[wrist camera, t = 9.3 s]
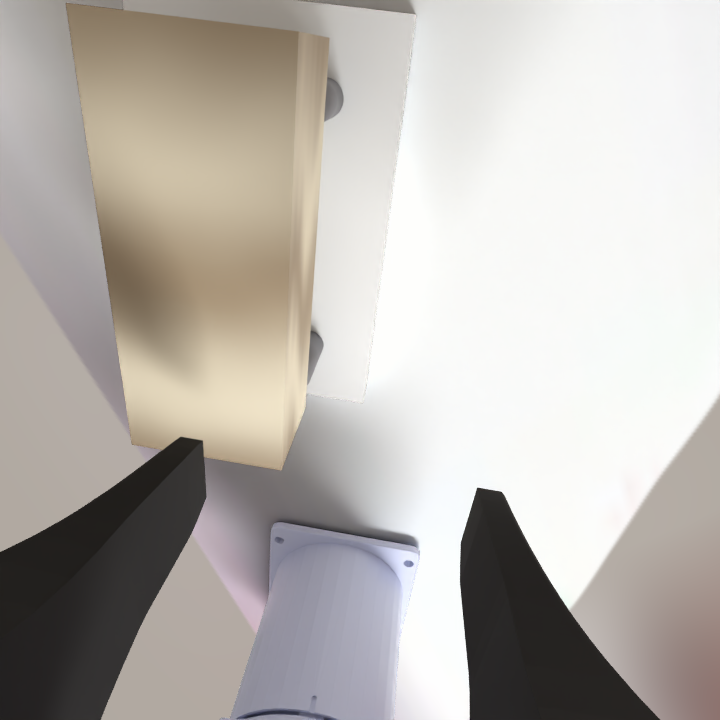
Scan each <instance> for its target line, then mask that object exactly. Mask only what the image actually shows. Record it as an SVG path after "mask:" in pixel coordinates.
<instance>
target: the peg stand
mask: <svg viewBox="0 0 720 720" xmlns="http://www.w3.org/2000/svg"><path fill="white" fill-rule="evenodd" d="M122 2H123V10H128V11H136V12H144V13H152V14H161V15H169V16H177V17H185V18H193V19H201V20H209V21H218V22H226V23H234V24H242V25H250V26H258V27H267V28H275V29H283V30H291V31H299V32H304V33H309V34H313V35H318V36H323V37H328V38H330V40H329V55H328V71H327V86H326V101H325V116H324V132H323V147H322V162H321V177H320V193H319V208H318V223H317V238H316V254H315V269H314V284H313V300H312V315H311V330H310V345H309V361H308V376H307V391H306V394H308V395H314V396H320V397H326V398H332V399H338V400H344V401H351V402H357V403H363V401H364V397H365V392H366V386H367V379H368V371H369V364H370V356H371V349H372V342H373V334H374V327H375V319H376V312H377V305H378V297H379V290H380V283H381V275H382V268H383V260H384V253H385V246H386V238H387V231H388V223H389V216H390V209H391V201H392V194H393V187H394V179H395V172H396V164H397V157H398V150H399V142H400V135H401V127H402V120H403V113H404V105H405V98H406V90H407V83H408V76H409V68H410V61H411V54H412V46H413V39H414V31H415V24H416V15H415V14H408V13H400V12H392V11H383V10H375V9H366V8H358V7H350V6H341V5H333V4H324V3H316V2H308V1H299V0H122Z"/></svg>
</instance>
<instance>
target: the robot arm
mask: <svg viewBox="0 0 720 720" xmlns="http://www.w3.org/2000/svg"><path fill="white" fill-rule="evenodd" d="M205 499H206V483H205V466H204V449H203V440H197V439H192V438H186V437H179V438H178V439H177V440H175V441H174V442H172V443H171V444H170V445H168V446H167V447H166V448H165V449H163V450H162V451H161V452H159V453H158V454H157V455H155V456H154V457H153V458H151V459H150V460H149V461H147V462H146V463H145V464H144V465H142V466H141V467H140V468H138V469H137V470H136V471H134V472H133V473H132V474H130V475H129V476H127V477H126V478H125V479H123V480H122V481H120V482H119V483H118V484H116V485H115V486H114V487H112V488H111V489H109V490H108V491H106V492H105V493H103V494H102V495H100V496H99V497H97V498H96V499H94V500H93V501H91V502H90V503H88V504H87V505H85V506H84V507H82V508H81V509H79V510H78V511H76V512H74V513H73V514H71V515H69V516H68V517H66V518H64V519H63V520H61V521H59V522H58V523H56V524H54V525H52V526H51V527H49V528H47V529H45V530H43V531H41V532H40V533H38V534H36V535H34V536H32V537H30V538H28V539H26V540H24V541H22V542H20V543H18V544H16V545H14V546H12V547H10V548H8V549H6V550H4V551H2V552H0V720H101V717H102V715H103V712H104V710H105V707H106V705H107V702H108V700H109V697H110V695H111V693H112V690H113V688H114V686H115V683H116V681H117V678H118V676H119V674H120V671H121V669H122V667H123V664H124V662H125V660H126V658H127V655H128V653H129V651H130V648H131V646H132V644H133V642H134V639H135V637H136V635H137V633H138V630H139V628H140V626H141V624H142V622H143V620H144V618H145V616H146V614H147V612H148V610H149V609H150V607H151V605H152V603H153V601H154V600H155V598H156V596H157V594H158V593H159V590H160V589H161V587H162V585H163V584H164V582H165V580H166V578H167V577H168V575H169V573H170V571H171V569H172V568H173V566H174V564H175V562H176V560H177V559H178V557H179V555H180V553H181V552H182V550H183V548H184V546H185V544H186V543H187V541H188V539H189V537H190V535H191V533H192V531H193V529H194V527H195V524H196V522H197V519H198V517H199V515H200V512H201V509H202V507H203V504H204V502H205ZM280 537H281V538H280ZM419 559H420V551H419V549H418V548H416V547H414V546H411V545H405V544H400V543H394V542H389V541H383V540H378V539H372V538H366V537H361V536H355V535H350V534H344V533H339V532H333V531H328V530H322V529H316V528H311V527H305V526H300V525H294V524H289V523H283V522H277V523H274V524H273V526H272V529H271V536H270V572H269V597H268V600H267V603H266V606H265V610H264V613H263V616H262V619H261V622H260V625H259V628H258V632H257V635H256V638H255V641H254V644H253V647H252V651H251V654H250V657H249V660H248V663H247V666H246V669H245V673H244V676H243V679H242V682H241V685H240V688H239V691H238V694H237V698H236V701H235V704H234V707H233V710H232V713H231V717H230V719H229V718H221V719H220V720H394V714H395V699H396V685H397V670H398V655H399V641H400V636H401V632H402V628H403V624H404V620H405V616H406V612H407V607H408V603H409V599H410V595H411V591H412V587H413V583H414V579H415V575H416V571H417V567H418V563H419ZM407 560H409V561H407ZM460 586H461V597H462V608H463V619H464V629H465V639H466V650H467V660H468V670H469V688H470V720H660V719H659V718H658V717H657V716H656V715H655V714H654V713H653V712H652V711H651V710H650V709H649V708H648V706H646V705H645V703H644V702H643V701H642V700H641V699H640V698H639V697H638V696H637V695H636V694H635V693H634V691H633V690H632V689H631V688H630V687H629V686H628V684H627V683H626V682H625V681H624V680H623V679H622V678H621V676H620V675H619V674H618V673H617V672H616V671H615V670H614V668H613V667H612V666H611V665H610V664H609V663H608V661H607V660H606V659H605V658H604V657H603V655H602V654H601V653H600V651H599V650H598V649H597V648H596V646H595V645H594V644H593V643H592V641H591V640H590V639H589V637H588V636H587V635H586V633H585V632H584V631H583V629H582V628H581V627H580V625H579V624H578V623H577V621H576V620H575V618H574V617H573V615H572V614H571V613H570V611H569V610H568V608H567V607H566V605H565V604H564V602H563V601H562V599H561V598H560V596H559V595H558V593H557V592H556V590H555V588H554V587H553V585H552V584H551V582H550V580H549V579H548V577H547V576H546V574H545V572H544V571H543V569H542V567H541V565H540V564H539V562H538V560H537V558H536V557H535V555H534V553H533V551H532V550H531V548H530V546H529V544H528V542H527V540H526V539H525V537H524V535H523V533H522V531H521V529H520V527H519V525H518V523H517V521H516V519H515V517H514V515H513V513H512V511H511V509H510V507H509V504H508V502H507V500H506V498H505V496H504V495H503V493H502V492H499V491H494V490H488V489H482V488H477V491H476V494H475V497H474V501H473V504H472V507H471V511H470V514H469V517H468V521H467V524H466V527H465V531H464V534H463V537H462V541H461V557H460Z"/></svg>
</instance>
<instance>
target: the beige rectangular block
mask: <svg viewBox="0 0 720 720" xmlns="http://www.w3.org/2000/svg"><path fill="white" fill-rule="evenodd" d="M66 9H67V15H68V22H69V29H70V35H71V42H72V49H73V56H74V62H75V69H76V76H77V82H78V89H79V96H80V102H81V109H82V116H83V122H84V129H85V136H86V142H87V149H88V156H89V162H90V169H91V176H92V182H93V189H94V196H95V202H96V209H97V216H98V222H99V229H100V236H101V242H102V249H103V256H104V262H105V269H106V276H107V282H108V289H109V296H110V302H111V309H112V316H113V322H114V329H115V336H116V342H117V349H118V356H119V362H120V369H121V376H122V382H123V389H124V396H125V402H126V409H127V416H128V422H129V429H130V436H131V442H132V445H137V446H143V447H148V448H154V449H160V450H163V449H165V448H166V447H167V446H168V445H170V444H171V443H172V442H174V441H175V440H177V439H178V438H179V437H186V438H192V439H197V440H203V449H204V457H206V458H212V459H217V460H223V461H229V462H235V463H240V464H246V465H252V466H258V467H263V468H269V469H275V470H282V468H283V465H284V462H285V460H286V457H287V455H288V452H289V449H290V447H291V444H292V442H293V439H294V436H295V434H296V431H297V429H298V426H299V423H300V421H301V418H302V416H303V413H304V410H305V406H306V391H307V376H308V361H309V345H310V330H311V315H312V300H313V284H314V269H315V254H316V238H317V223H318V208H319V193H320V177H321V162H322V147H323V132H324V116H325V101H326V86H327V71H328V55H329V40H330V38H328V37H323V36H318V35H313V34H309V33H304V32H299V31H291V30H283V29H275V28H267V27H258V26H250V25H242V24H234V23H226V22H218V21H209V20H201V19H193V18H185V17H177V16H169V15H161V14H152V13H144V12H136V11H128V10H120V9H112V8H104V7H95V6H87V5H79V4H71V3H66Z"/></svg>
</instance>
